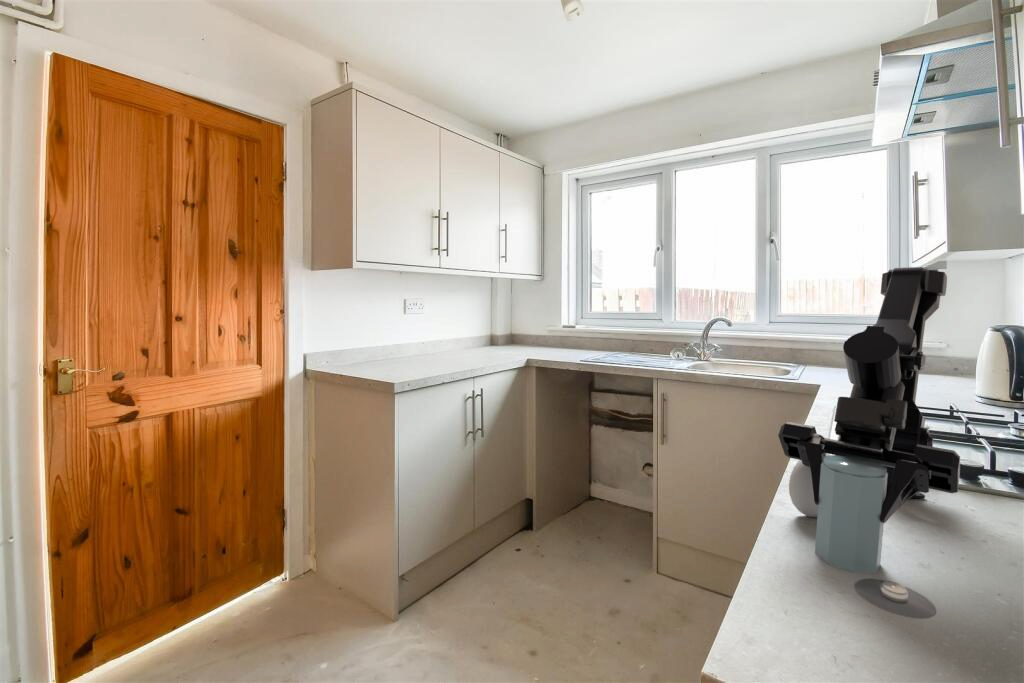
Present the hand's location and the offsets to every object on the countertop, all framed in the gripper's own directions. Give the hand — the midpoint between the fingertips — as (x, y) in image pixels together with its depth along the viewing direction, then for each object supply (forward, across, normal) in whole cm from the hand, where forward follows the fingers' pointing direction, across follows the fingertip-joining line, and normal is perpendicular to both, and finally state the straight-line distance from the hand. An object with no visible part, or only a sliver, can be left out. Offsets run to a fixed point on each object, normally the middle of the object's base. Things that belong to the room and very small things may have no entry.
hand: (847, 511), depth 59 cm
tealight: (+8, +6, +1) cm, 10 cm away
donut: (-4, -6, +14) cm, 16 cm away
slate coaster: (+8, +6, +2) cm, 10 cm away
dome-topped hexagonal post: (+4, 0, +6) cm, 7 cm away
